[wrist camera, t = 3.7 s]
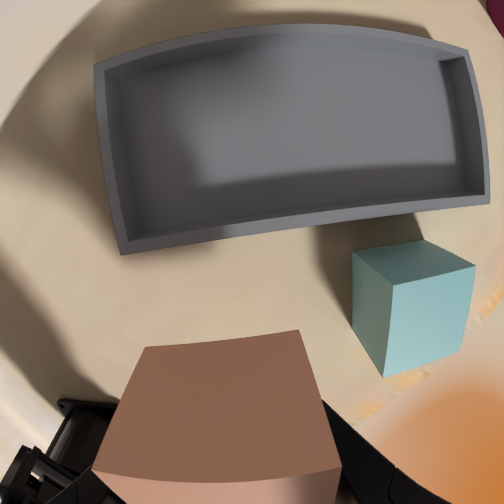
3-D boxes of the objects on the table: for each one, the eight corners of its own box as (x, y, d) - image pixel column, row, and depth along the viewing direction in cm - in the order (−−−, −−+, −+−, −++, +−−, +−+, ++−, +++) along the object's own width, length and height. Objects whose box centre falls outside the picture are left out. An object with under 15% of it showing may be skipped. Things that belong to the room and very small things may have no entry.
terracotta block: (186, 437, 9) (171, 536, 5) (145, 346, 8) (91, 470, 4) (304, 426, 9) (327, 529, 5) (298, 329, 8) (342, 467, 3)
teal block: (351, 327, 15) (382, 377, 11) (351, 250, 14) (393, 285, 9) (417, 311, 15) (458, 351, 11) (423, 239, 14) (476, 265, 9)
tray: (137, 241, 13) (120, 255, 11) (113, 77, 11) (93, 64, 9) (465, 198, 13) (490, 203, 11) (445, 59, 11) (467, 50, 8)
